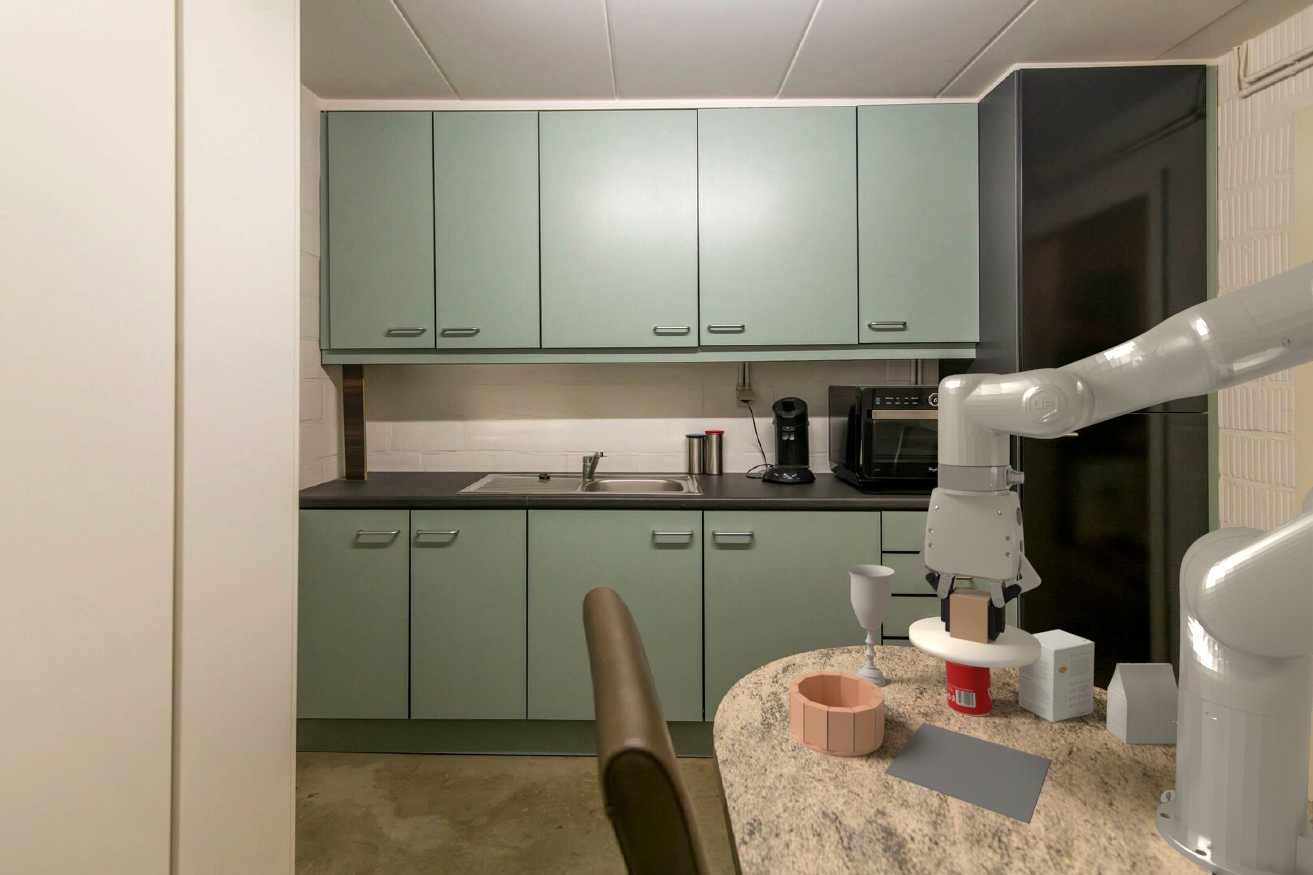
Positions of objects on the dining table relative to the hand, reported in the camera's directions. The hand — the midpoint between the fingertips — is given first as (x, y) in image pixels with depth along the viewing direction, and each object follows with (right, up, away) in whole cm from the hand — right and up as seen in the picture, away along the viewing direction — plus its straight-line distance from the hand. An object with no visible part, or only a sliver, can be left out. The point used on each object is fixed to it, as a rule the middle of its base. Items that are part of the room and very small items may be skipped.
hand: (972, 631), depth 76 cm
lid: (0, -1, 0) cm, 1 cm away
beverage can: (+7, -16, +16) cm, 24 cm away
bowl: (-14, -17, +10) cm, 24 cm away
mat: (0, -17, +1) cm, 17 cm away
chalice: (-4, -16, +25) cm, 30 cm away
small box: (+19, -16, +15) cm, 29 cm away
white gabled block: (+26, -16, +7) cm, 31 cm away
